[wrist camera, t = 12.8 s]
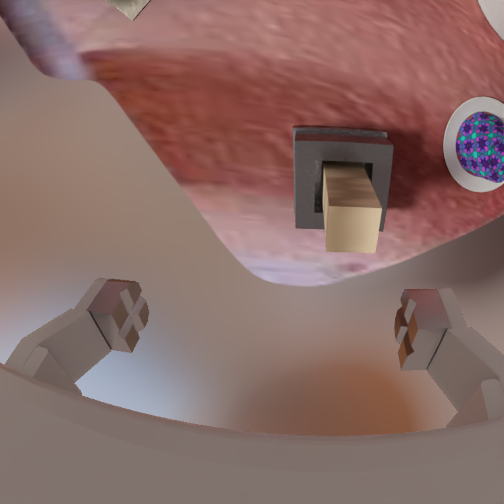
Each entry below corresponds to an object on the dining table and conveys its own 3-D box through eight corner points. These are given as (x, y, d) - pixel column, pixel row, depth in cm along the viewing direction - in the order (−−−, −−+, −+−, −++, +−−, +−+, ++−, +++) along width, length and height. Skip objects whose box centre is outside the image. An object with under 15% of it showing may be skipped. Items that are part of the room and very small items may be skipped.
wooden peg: (358, 157, 32) (382, 208, 22) (356, 191, 34) (375, 253, 24) (322, 155, 32) (329, 206, 23) (321, 190, 35) (326, 251, 25)
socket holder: (385, 130, 30) (396, 142, 26) (377, 211, 36) (385, 233, 32) (293, 126, 32) (291, 137, 28) (294, 209, 38) (292, 230, 34)
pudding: (530, 128, 25) (553, 141, 21) (492, 203, 32) (510, 224, 28) (464, 76, 25) (486, 82, 20) (424, 164, 32) (440, 182, 28)
